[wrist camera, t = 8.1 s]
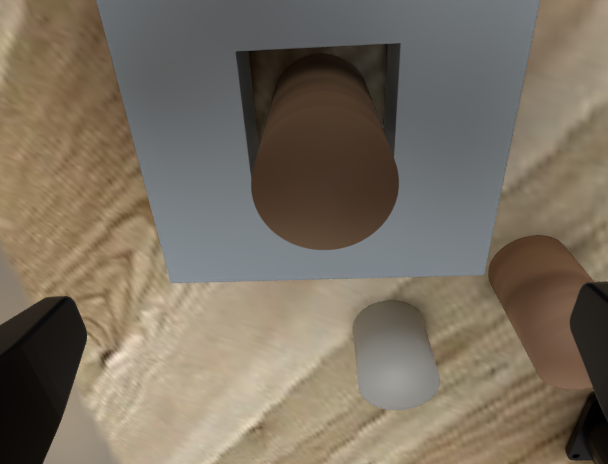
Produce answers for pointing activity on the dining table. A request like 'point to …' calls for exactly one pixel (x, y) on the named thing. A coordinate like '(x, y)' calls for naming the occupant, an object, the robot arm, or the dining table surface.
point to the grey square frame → (397, 127)
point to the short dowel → (394, 356)
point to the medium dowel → (542, 305)
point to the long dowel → (323, 158)
